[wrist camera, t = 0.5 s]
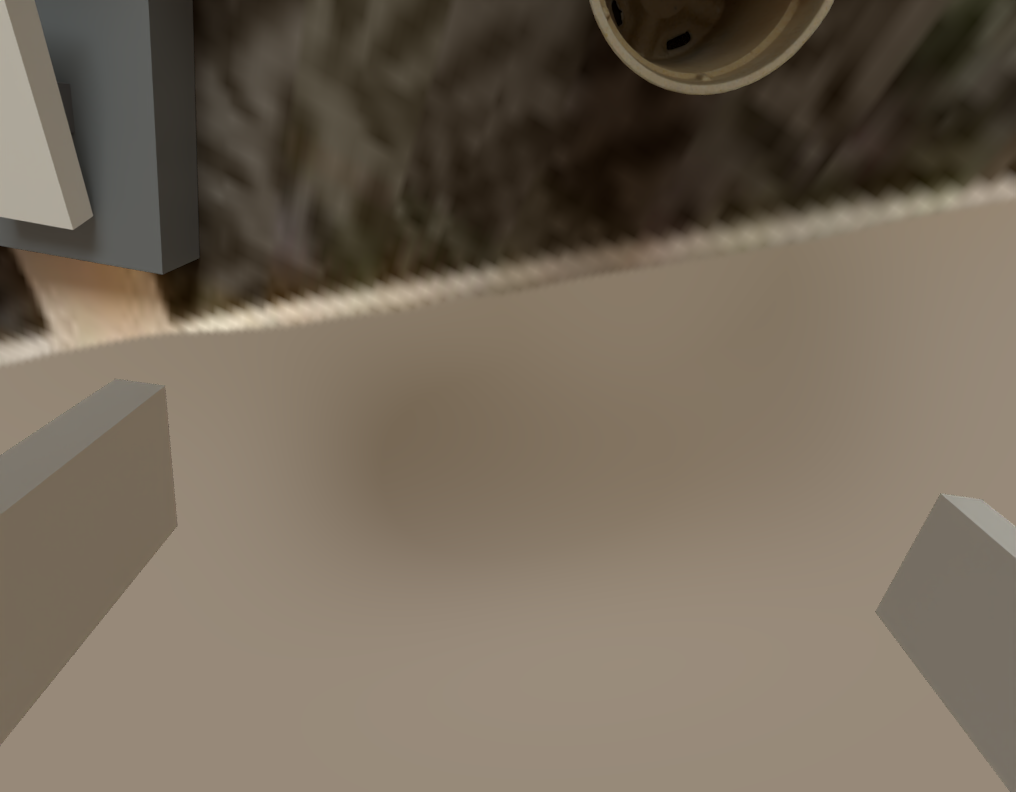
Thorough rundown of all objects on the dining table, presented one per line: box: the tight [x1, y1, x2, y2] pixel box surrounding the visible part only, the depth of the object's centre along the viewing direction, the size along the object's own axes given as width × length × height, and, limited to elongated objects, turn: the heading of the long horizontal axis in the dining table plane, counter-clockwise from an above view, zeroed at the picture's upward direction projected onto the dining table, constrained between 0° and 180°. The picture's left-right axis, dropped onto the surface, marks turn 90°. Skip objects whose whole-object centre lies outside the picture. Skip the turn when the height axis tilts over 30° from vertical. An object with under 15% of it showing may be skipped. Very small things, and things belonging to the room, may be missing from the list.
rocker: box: [0, 0, 93, 230], centre depth 25 cm, size 10×4×2 cm, turn 169°
